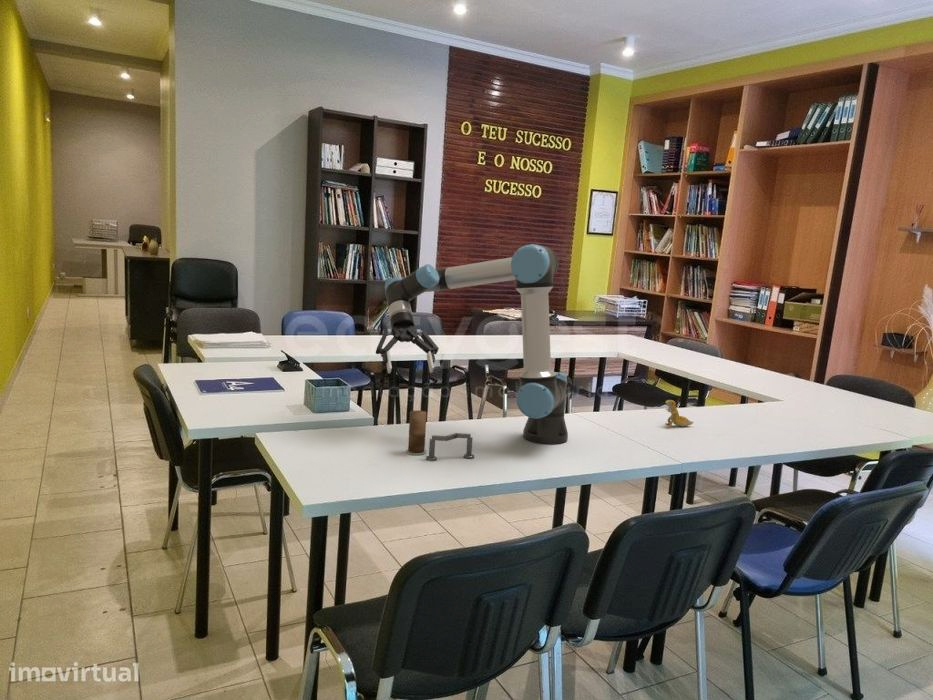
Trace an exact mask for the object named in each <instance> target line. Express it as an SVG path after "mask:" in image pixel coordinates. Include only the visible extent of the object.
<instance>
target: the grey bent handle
mask: <svg viewBox="0 0 933 700" xmlns="http://www.w3.org/2000/svg"><path fill="white" fill-rule="evenodd" d="M471 435H472V434H471V433H465V432H464V433H463V432H462V433H461V432H455V433H450V434H447V435H431V438H429V442H428V443H429V445H428V446H429V447H428V448H429V449H428V455H427V456H426V457H425V460H427V461H430V462H434V461H437V460H438V457H437V456H436V455H435V450H436V441H437V442H438V441H439V442H449V441H452V440H453V441H454V440H456V439H466V453H464V454H463V458H464V459H467V460H470V459H471V460H473V459H475V454H473V437H471Z"/></svg>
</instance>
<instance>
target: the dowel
mask: <svg viewBox="0 0 933 700" xmlns="http://www.w3.org/2000/svg"><path fill="white" fill-rule="evenodd" d="M426 427H427V412H426V411H425V410H411V411H409V424H408V428H409V429H408V446H407V449H408V451H409V452H411V453H423V452H424V451H425V450H426V449H425V448H426V447H425V446H426V429H427V428H426Z"/></svg>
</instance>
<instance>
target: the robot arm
mask: <svg viewBox="0 0 933 700" xmlns="http://www.w3.org/2000/svg"><path fill="white" fill-rule="evenodd" d="M558 268H559V258H558V256H557V254H556V252H555V250H553V249H552V248H551V247H549V246H546V245H539V244H533V243H532V244H526V245H523V246H521V247H520V248H518V249H516V251H515V252H514V253H513V255H512V256H511V257H506V258H498V259H493V260H487V261H482V262H474V263H469V264H463V265H456V266H449V267H442V268H435V267H434V266H433V265H432V264H425V265H423V266H420V267H418V269H416V270H415V271H412V273H410V274H409V275H406V277H404V278H403V277H400V276H395V277H389V278H388V279H387V280H386V282H385V284H384V295H385V297H386V302H387V303H386V304H387V309H388V314H389V319H390V320H389V321H390V326H391V328H388V327H387V326H384V327H383V330H382V336H381V338H380V339H379V341H378V345H377V347H376V348H375V349H376V350H375V354H376V355H380V357H381V358H382V362H383V364H386V369H387V373H388V374H391V372H392V369H393V366H392V361H391V355H390V354H391V353H390V350H391V349H392V348H393V347H394V345H395V344H397V342H400V343H404V342H405V343H412V344H413V345H416V346H417V347H418V348H419V349H421V350H422V351H423V352H424V353H426V360H427V364H428V370H429V373H430V374H432V373H433V372H434V370H435V365H434V364H435V361H436V356H435V355H438V352H439V349H440V347H439V346H438V345H437V344H436V343H435V342H434V341H433V339H432V338H431V337H430V335H429V334H428V333H427V331H426V329H425V327H421V328H420V329H418V328H416V326H415V321H414V316H413V311H412V307H411V301H412V300H413V299H415V298H417V297H418V296H421V294H423V293H429V292H444V291H447V290H453V289H459V288H466V287H473V286H474V287H475V286H481V285H488V284H494V283H503V282H507V281H508V282H509V281H515V290H516V291H517V292H518V293H519V294H520V302H521V308H520V309H521V329H522V331H521V332H522V334H521V335H522V357H523V370H522V371H521V372H520V373H519V376H518V377H519V378H518V379H519V388H518V390H517V394H516V397H515V398H516V399H515V400H516V406H517V408H518V409H519V411H520V412H521V413H522V414H523V415H524V416H526V417H527V420H526V422H525V425H524V427H523V431H522V432H523V433H522V438H524V439H525V440H527V441H530V442H532V443H538V444H546V445H547V444H548V445H557V444H559V445H560V444H563V443H567V441H568V437H569V433H568V429H567V425H566V424H567V423H566V420H565V409H566V397H567V385H568V375H567V374H566V373H563V372H557V371H554V370H553V369H552V361H551V359H552V358H551V357H552V356H551V331H550V330H551V329H550V302H549V301H550V299H549V293H550V292H551V290H552V289H554V276H555V274H556V273H557V271H558ZM390 334H391V335H392V336H393V337H392V338H391V339H390V340H389V341H388V343H387V344H386V345H385V346H384V344H385V342H386V339H387V337H388V336H389V335H390ZM383 346H384V347H383Z"/></svg>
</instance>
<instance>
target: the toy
mask: <svg viewBox="0 0 933 700" xmlns="http://www.w3.org/2000/svg"><path fill="white" fill-rule="evenodd" d="M665 404H666V406H667V407H668V408H665V411H667V412H668V413H670V414H671V415H670V416H669V417H668V418H667V422H664V424H665V425H667V424H669V425H667V426H666V429H670V428H671V427H672V425H673V424H674V425H676V426H677V427H679V426H681V427H682V428H683V427H684V426H685V427H688V426H691V425H693V424H694V421H691V420H689V418H687V417H685V416H681V415H680V413H679V410H678V409H677V407H676V405H677V404H676V401H675V400H673V399H667V400H665Z"/></svg>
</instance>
